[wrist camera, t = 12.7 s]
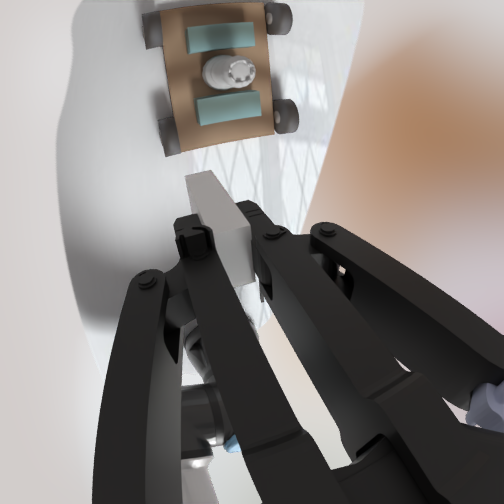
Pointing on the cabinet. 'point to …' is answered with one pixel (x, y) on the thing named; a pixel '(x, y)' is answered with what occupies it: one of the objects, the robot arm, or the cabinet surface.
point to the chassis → (208, 99)
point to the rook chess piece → (228, 72)
